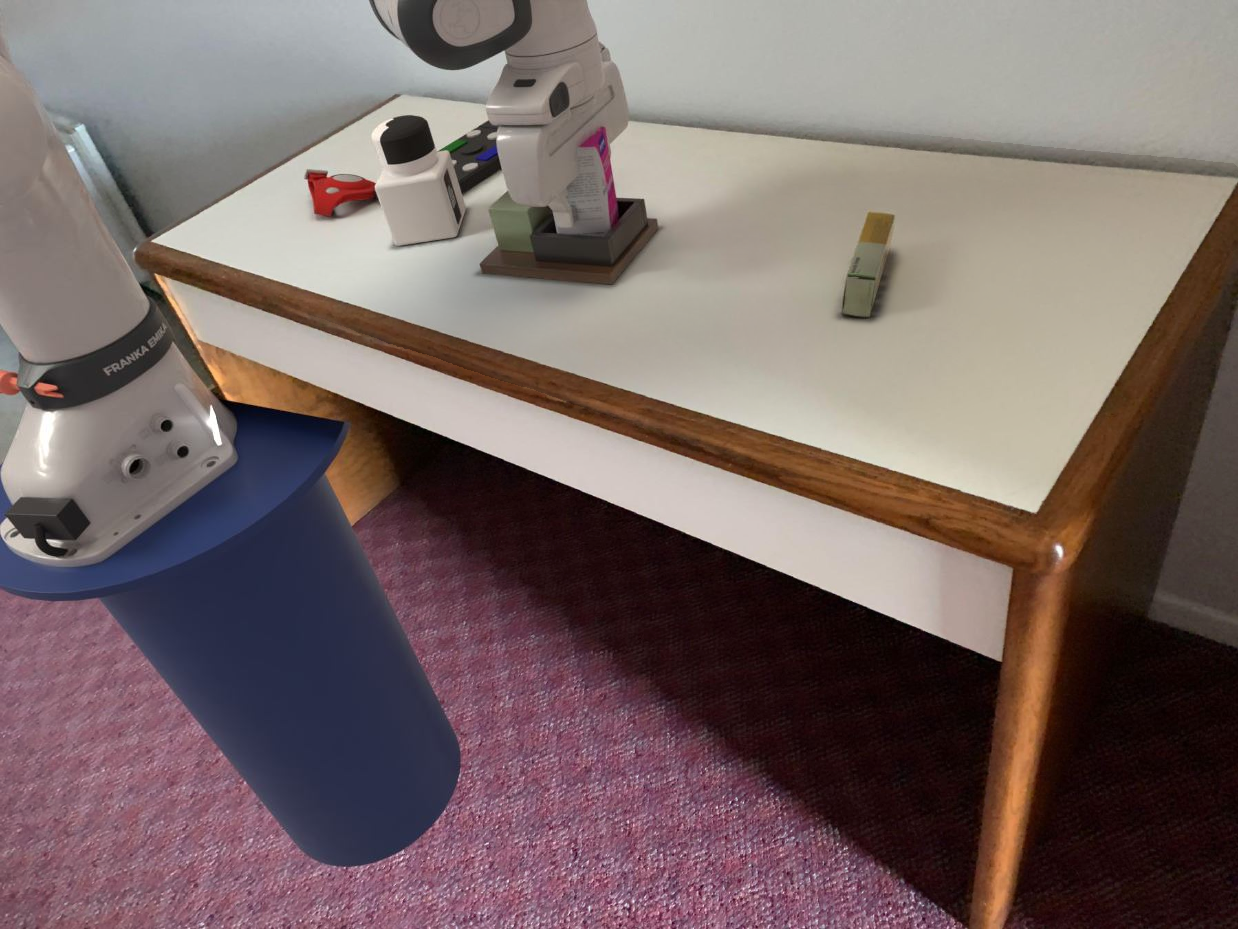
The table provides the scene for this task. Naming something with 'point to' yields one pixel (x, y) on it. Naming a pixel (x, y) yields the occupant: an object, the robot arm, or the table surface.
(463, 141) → the remote control
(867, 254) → the medication box
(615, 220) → the supplement box
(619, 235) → the desk organizer
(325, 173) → the red plastic curved piece
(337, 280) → the table surface
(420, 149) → the container
